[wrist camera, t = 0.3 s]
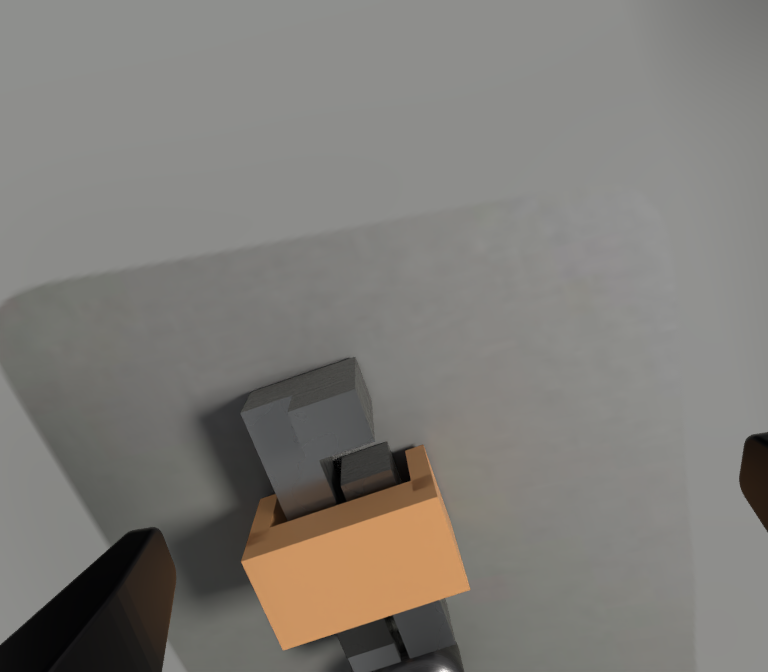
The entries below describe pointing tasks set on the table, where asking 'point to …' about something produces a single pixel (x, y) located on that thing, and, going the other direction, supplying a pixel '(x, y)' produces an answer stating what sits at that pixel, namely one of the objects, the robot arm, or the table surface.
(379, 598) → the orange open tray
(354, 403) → the arm
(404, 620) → the tongs fixed
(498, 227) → the table surface
